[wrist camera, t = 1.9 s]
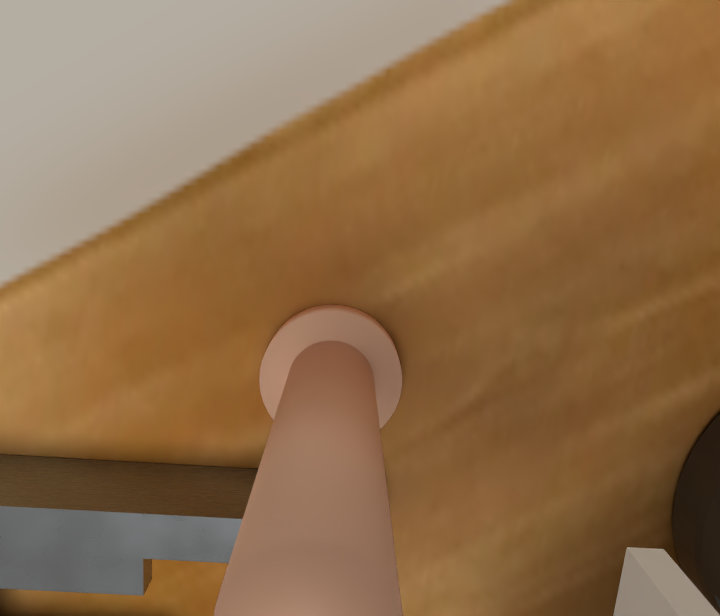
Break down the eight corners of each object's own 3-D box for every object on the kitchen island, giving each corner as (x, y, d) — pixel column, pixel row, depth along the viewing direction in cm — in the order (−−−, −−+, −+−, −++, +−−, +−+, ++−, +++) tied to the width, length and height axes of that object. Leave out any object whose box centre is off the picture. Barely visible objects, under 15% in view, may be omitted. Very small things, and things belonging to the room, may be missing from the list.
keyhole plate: (368, 475, 27) (371, 526, 23) (350, 690, 29) (350, 768, 25) (-94, 449, 26) (-173, 496, 22) (-71, 671, 29) (-137, 749, 25)
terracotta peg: (405, 309, 25) (483, 490, 10) (393, 436, 26) (448, 757, 12) (267, 299, 25) (148, 472, 10) (262, 428, 26) (150, 745, 11)
